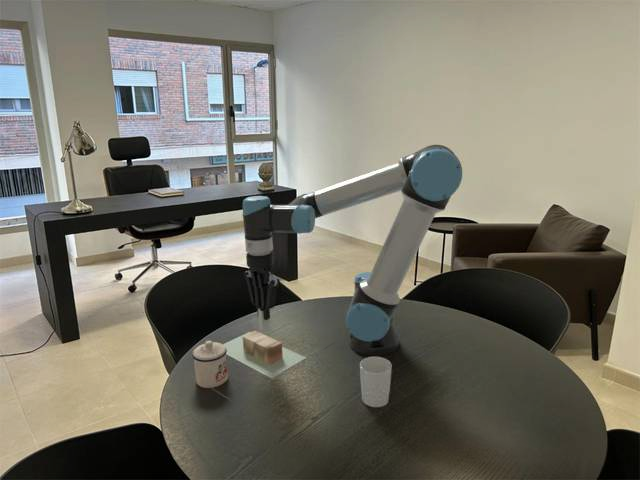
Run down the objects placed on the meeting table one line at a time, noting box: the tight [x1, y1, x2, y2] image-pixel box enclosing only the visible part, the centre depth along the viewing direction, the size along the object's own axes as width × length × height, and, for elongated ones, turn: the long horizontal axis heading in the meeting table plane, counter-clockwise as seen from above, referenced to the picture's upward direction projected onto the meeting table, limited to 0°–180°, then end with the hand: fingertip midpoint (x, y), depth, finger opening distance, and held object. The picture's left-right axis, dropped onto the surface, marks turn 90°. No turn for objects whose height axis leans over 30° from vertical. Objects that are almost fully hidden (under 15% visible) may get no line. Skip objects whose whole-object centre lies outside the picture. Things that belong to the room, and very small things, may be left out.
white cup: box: [359, 356, 393, 408], centre depth 116 cm, size 8×8×10 cm
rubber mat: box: [223, 331, 307, 381], centre depth 140 cm, size 26×14×1 cm, turn 48°
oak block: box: [243, 330, 283, 365], centre depth 139 cm, size 5×5×12 cm
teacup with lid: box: [192, 340, 229, 389], centre depth 127 cm, size 12×9×12 cm
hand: (264, 328), depth 136 cm, fingers closed
